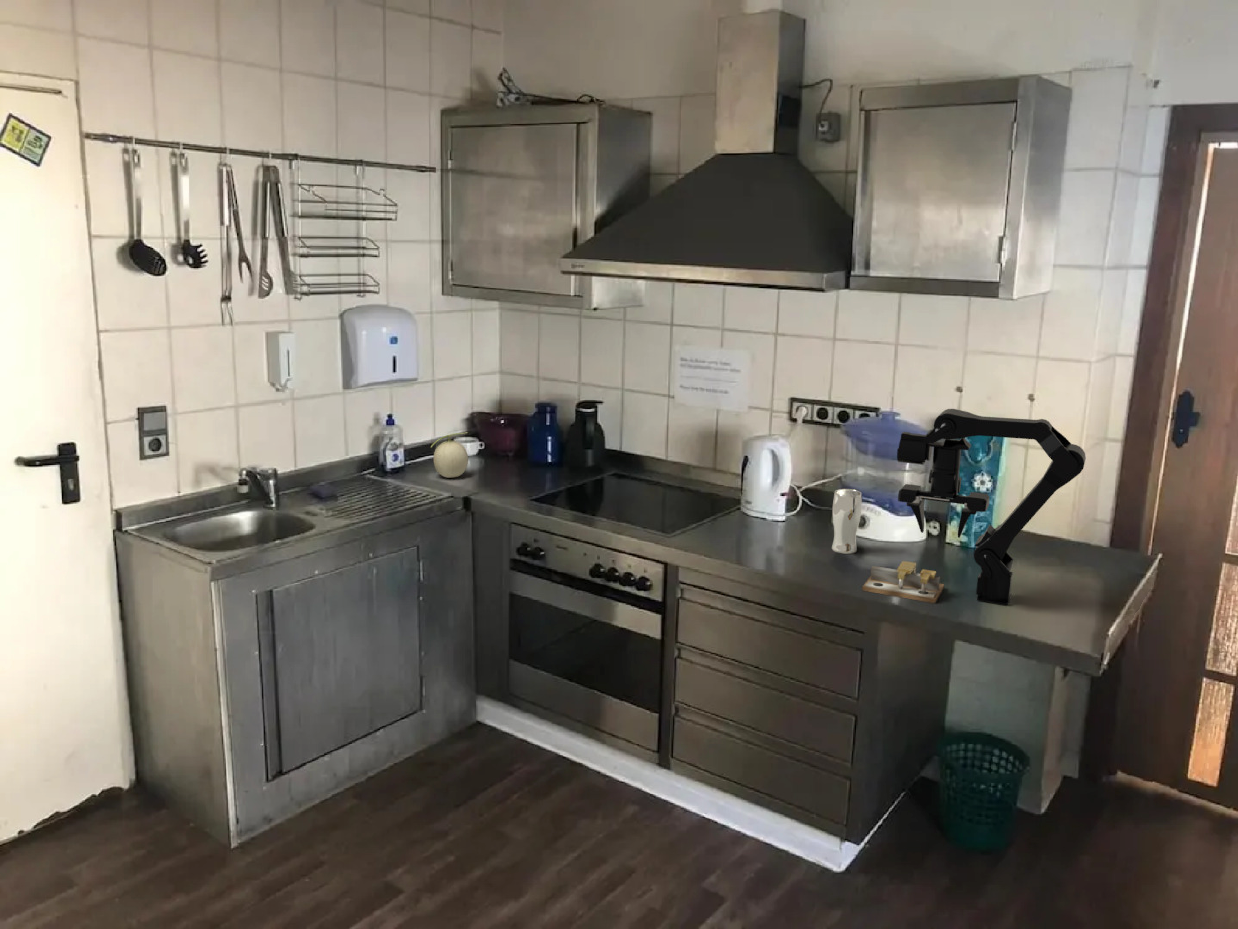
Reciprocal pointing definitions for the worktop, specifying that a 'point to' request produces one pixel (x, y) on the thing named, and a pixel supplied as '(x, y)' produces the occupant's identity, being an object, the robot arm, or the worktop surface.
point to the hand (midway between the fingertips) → (940, 534)
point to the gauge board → (905, 584)
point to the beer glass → (846, 520)
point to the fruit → (450, 457)
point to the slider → (905, 571)
